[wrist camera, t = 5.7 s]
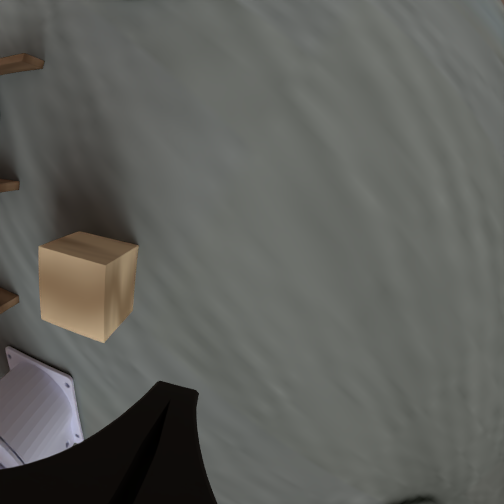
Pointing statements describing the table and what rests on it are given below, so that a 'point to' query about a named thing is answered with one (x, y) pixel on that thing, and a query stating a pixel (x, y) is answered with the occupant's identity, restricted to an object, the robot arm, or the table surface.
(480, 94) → the table surface
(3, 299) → the rack
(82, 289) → the maple block
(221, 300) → the table surface
